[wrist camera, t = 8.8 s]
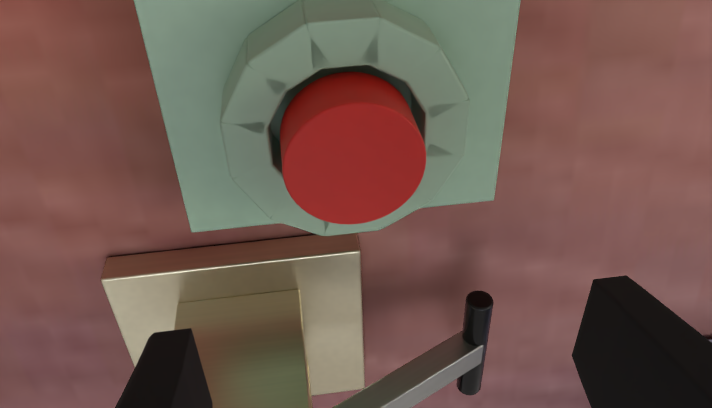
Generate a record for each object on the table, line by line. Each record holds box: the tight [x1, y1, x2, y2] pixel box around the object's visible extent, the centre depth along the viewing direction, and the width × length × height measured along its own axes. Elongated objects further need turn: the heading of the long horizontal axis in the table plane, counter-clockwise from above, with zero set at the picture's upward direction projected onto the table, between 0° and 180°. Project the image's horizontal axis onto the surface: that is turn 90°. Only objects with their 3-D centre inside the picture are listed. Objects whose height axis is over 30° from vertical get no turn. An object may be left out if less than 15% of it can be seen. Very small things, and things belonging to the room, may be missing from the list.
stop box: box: [134, 0, 521, 236], centre depth 18 cm, size 10×8×4 cm
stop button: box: [280, 72, 426, 225], centre depth 16 cm, size 4×4×2 cm
